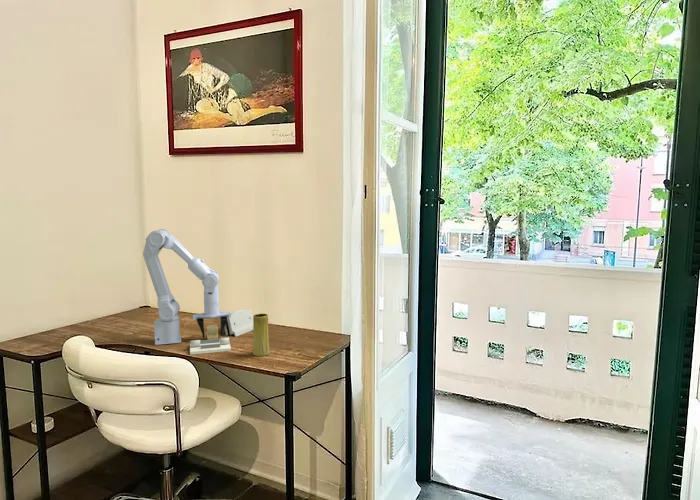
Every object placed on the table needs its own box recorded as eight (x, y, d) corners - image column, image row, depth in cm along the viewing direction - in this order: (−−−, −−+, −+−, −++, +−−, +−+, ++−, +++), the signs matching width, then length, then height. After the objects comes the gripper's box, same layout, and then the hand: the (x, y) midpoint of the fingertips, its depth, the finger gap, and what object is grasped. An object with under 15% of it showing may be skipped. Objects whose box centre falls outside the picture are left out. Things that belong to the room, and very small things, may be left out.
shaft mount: (190, 354, 179) (189, 345, 179) (190, 345, 190) (189, 336, 190) (231, 350, 183) (230, 341, 183) (228, 341, 195) (228, 333, 194)
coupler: (218, 341, 196) (217, 327, 195) (207, 342, 194) (207, 328, 194) (217, 337, 201) (217, 324, 200) (207, 338, 200) (206, 325, 199)
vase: (270, 351, 183) (270, 313, 181) (268, 356, 177) (268, 317, 175) (254, 351, 183) (253, 313, 181) (251, 356, 177) (250, 317, 175)
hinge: (235, 336, 202) (228, 313, 202) (226, 339, 204) (219, 316, 204) (259, 327, 217) (252, 305, 217) (251, 329, 219) (244, 307, 219)
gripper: (192, 306, 190) (193, 340, 192) (231, 303, 194) (232, 337, 196) (192, 302, 197) (193, 335, 198) (229, 299, 201) (230, 332, 203)
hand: (212, 336), depth 198 cm, fingers open, 6 cm apart
